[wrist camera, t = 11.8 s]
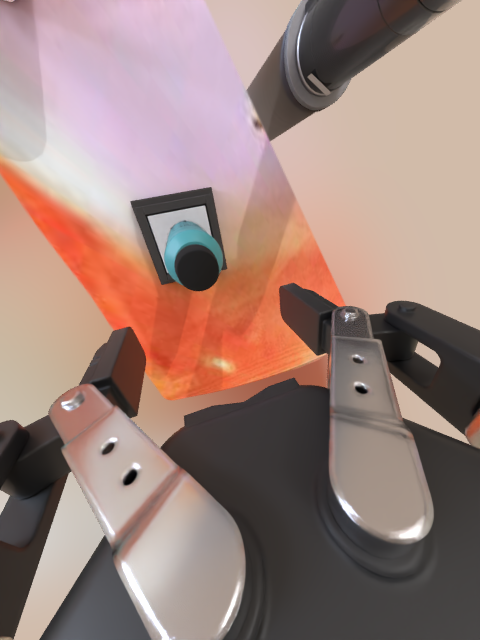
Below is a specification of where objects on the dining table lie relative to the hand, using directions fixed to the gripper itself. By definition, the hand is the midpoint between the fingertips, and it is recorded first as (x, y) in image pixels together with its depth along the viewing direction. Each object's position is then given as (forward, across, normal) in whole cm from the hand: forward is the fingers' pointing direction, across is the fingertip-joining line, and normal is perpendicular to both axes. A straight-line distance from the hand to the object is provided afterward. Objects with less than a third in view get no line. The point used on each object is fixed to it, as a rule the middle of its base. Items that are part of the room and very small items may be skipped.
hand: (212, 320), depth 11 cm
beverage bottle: (+29, 0, 0) cm, 29 cm away
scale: (+32, 0, 0) cm, 32 cm away
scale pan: (+30, 0, 0) cm, 30 cm away
